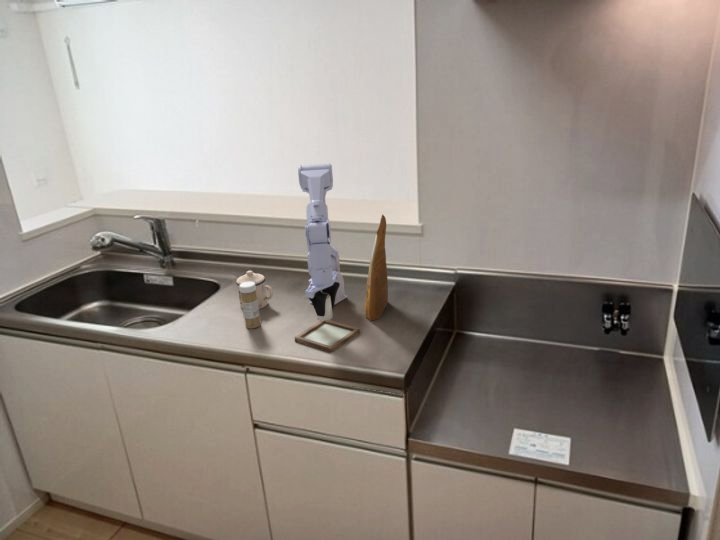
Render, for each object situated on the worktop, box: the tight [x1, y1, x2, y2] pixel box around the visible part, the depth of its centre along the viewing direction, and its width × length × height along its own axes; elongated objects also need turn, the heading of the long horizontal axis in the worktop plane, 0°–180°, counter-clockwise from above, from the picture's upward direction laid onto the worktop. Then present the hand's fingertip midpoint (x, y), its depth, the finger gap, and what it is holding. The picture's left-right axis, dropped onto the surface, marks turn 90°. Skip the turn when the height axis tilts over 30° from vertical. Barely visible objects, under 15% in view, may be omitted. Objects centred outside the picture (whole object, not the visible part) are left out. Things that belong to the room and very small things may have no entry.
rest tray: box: [294, 319, 361, 353], centre depth 159 cm, size 13×13×1 cm
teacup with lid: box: [236, 270, 274, 310], centre depth 180 cm, size 12×9×12 cm
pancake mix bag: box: [364, 213, 389, 322], centre depth 169 cm, size 7×19×28 cm, turn 165°
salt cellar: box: [316, 293, 334, 322], centre depth 156 cm, size 4×4×7 cm
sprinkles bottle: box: [239, 282, 262, 329], centre depth 166 cm, size 5×5×14 cm
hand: (325, 311), depth 156 cm, fingers closed on salt cellar, 4 cm apart
